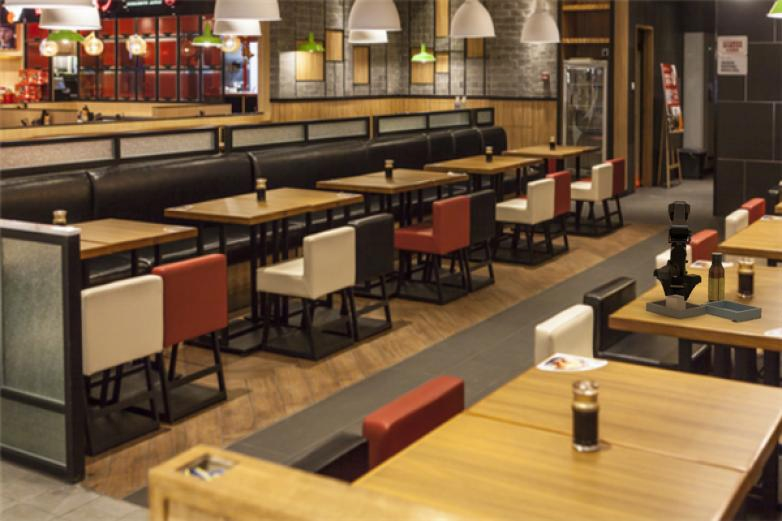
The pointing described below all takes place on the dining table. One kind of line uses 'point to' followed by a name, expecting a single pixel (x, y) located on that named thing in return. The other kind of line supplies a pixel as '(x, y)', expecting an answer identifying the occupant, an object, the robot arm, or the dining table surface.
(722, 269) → the sauce bottle
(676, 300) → the stone block
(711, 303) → the bin
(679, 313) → the bin
